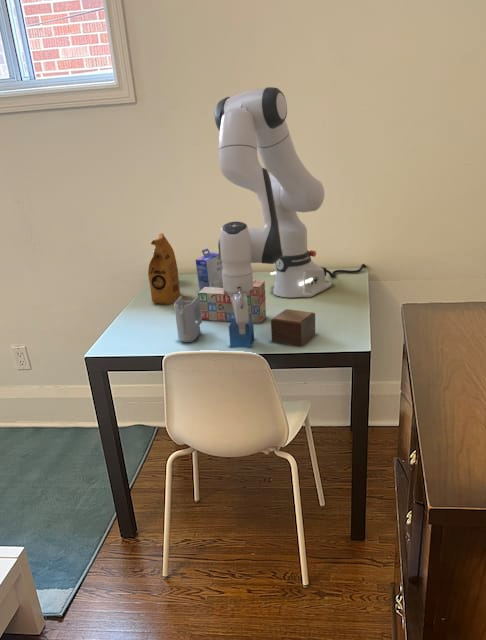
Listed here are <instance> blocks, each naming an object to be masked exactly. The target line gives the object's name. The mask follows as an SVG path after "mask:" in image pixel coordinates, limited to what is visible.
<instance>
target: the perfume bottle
mask: <svg viewBox="0 0 486 640" xmlns="http://www.w3.org/2000/svg"><path fill="white" fill-rule="evenodd" d="M241 309H243V308H241ZM248 315H249V314H248ZM254 327H255V325H254V323H253V319H252V318H251V316H250V315H249V322H248V324H246V325H245V334H239V326H238V324H237V323H236V319H235V315H234V317H233V318H232V321H230V324H229V326H228V335H229V347H230V348H251V347H252V345H253V343H254V342H255V329H254Z"/></svg>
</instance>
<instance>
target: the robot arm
mask: <svg viewBox="0 0 486 640" xmlns="http://www.w3.org/2000/svg"><path fill="white" fill-rule="evenodd" d="M287 116H288V105H287V100H286V97H285V95H284V92H283V91H281V90H280V89H279V88H277V87H273V86H272V87H271V86H269V87H265V88H259V89H257V88H256V89H251V90H246V91H245V92H240V93H238V94H235V95H233V96H227V97H224V98H222V99H220V100H219V101H218V103H217V104H216V107H215V109H214V122H215V126H216V128H217V130H218V131H219V134H218V162H219V163H218V164H219V170H220V172H221V173H222V175H223V176H224V178H225V179H226V180H227V181H228V182H230V183H231V184H234V185H236V186H238V187H241V188H243V189H246V190H249V191H251V192H253V193H254V194H256V195H257V198H258V200H259V202H260V205H261V210H262V216H263V217H262V218H263V221H264V226H262V227H256V228H255V227H254V228H253V227H252V228H249V227H248V225H247V224H246V223H245V222H243V221H230V222H227V223H224V225H222V226H221V229H220V236H219V239H218V241H217V246H218V253H219V257H220V259H221V260H222V266H223V269H222V279H223V287H222V288H223V290H224V291H226V292H228V295H229V296H230V298H231V302H232V306H233V310H234V315H235V319H236V323H237V324H238V326H239V334H245V325H246V324H248V322H249V315H248V302H247V297H246V296H247V295H249V291H250V290H252V289H253V280H254V274H253V272H254V271H253V268H252V264H265V265H267V264H268V265H274V264H275V271H273V272H270V275H274V284H273V289H272V294H273V295H274V296H277V297H281V298H311V297H314V296H315V295H318V294H319V293H321V292H323V291H325V290H328V289H329V288H331V287H332V286H333V284H332V282H331V281H329V280H326V277H327V274H328V275H329V276H330V277H331V278H335V277H336V276H335V274H337V273H346V274H347V273H349V274H357V273H359V272H362V270H363V268H367V265H366V264H365V263H362V264H361V265H360V267H359V269H356V270H355V269H354V270H348V269H336V270H333V271H332V272H331V271H330V270H329V269H327V267H324V266H320V265H319V264H317V263H315V262H314V261H313V260H312V258H311V257H313V258H315V257H316V256H317V251H316V250H312V249H311V250H308V229H307V226H306V224H304V222H302V220H301V219H300V217H299V216H298V214H297V212H298V213H309V212H316V211H317V210H319V209H320V208H321V206H322V204H323V203H324V200H325V187H324V185H323V183H322V182H321V181H320V180H319V179H317V178H316V177H315V176H314V175H313V174H312V173H311V172H310V171H309V170H308V169H307V168H306V165H304V163H303V162H302V161H301V159H300V157H299V156H298V153H297V151H296V149H295V145H294V143H293V139H292V135H291V133H290V130H289V127H288V124H287V119H286V118H287ZM258 156H259V157H260V161H261V163H262V164H261V163H260V161H259V157H258ZM241 308H243V309H241Z"/></svg>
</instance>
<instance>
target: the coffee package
mask: <svg viewBox="0 0 486 640" xmlns="http://www.w3.org/2000/svg"><path fill="white" fill-rule="evenodd" d="M150 244H151V245H152V246H154V247H155V248H154V250H153V251H154V254H153V253H152V257H151V259H150V261H149V264H148V270H147V271H148V272H147V275H148V282H149V288H150V297H151V301H152V303H153V304H155V305H156V304H158V305H164V304H165V305H171V304H174V303H175V302H176V301H177V299H178V298H179V297H180V296H181V289H180V281H179V269H178V264H177V259H176V255H175V251H174V249H173V247H172V245H171V243H170V242H169V241H168V239H167V238H166V236H165V234H164V233H163V232H161V233H160V234H158V238H157V239H153V240H152V241H151V242H150Z"/></svg>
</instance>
